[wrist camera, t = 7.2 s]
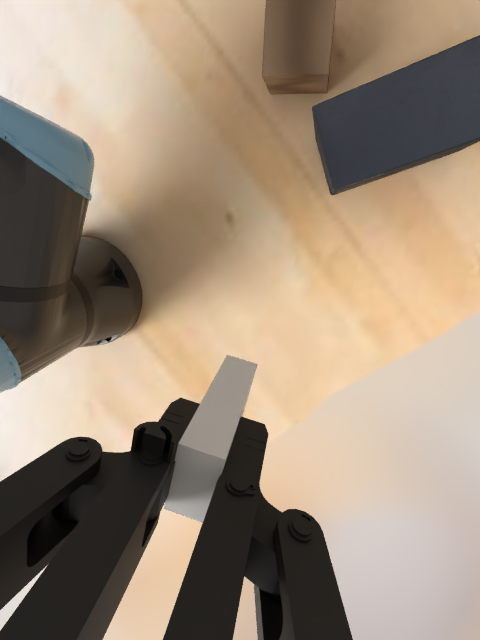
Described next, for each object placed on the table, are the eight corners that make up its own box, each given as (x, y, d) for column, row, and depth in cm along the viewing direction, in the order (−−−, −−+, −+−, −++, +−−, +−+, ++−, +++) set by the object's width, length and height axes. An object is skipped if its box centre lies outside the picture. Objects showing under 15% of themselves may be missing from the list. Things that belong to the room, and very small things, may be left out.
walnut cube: (270, 94, 38) (262, 75, 33) (274, 27, 36) (266, -5, 31) (326, 93, 37) (328, 73, 32) (334, 24, 35) (336, -10, 30)
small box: (444, 80, 35) (503, 22, 24) (456, 152, 36) (517, 128, 25) (313, 134, 38) (310, 105, 27) (329, 196, 40) (333, 193, 29)
